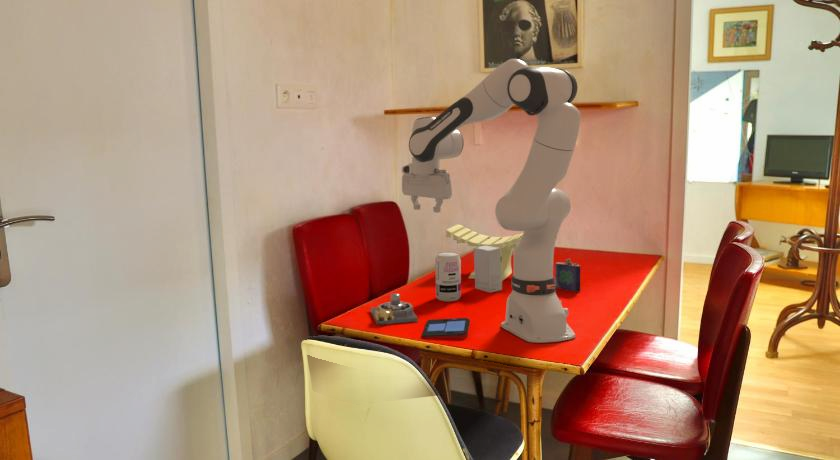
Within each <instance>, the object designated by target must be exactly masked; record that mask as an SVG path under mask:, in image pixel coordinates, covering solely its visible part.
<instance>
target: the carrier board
mask: <svg viewBox="0 0 840 460" xmlns="http://www.w3.org/2000/svg"><path fill="white" fill-rule="evenodd" d="M388 302H389V303H390V302H391V301H388ZM385 303H386V302H384V303H381V304H378V305H377V306H376V307H370V308H369V310H370V314H371V315H372V317H373V320H374V321H375V323H376V325H377V326H385V324H386V325H395V324H396V323H397V324H407V323H417V322H419V318H418V316H417V314H415V312H414V306H413V305H412V304H411V302H406V301H403V303H407V309H404V310H396V311H392V310H391V309H389V310H386V309H384V305H385Z"/></svg>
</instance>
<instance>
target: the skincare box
mask: <svg viewBox="0 0 840 460" xmlns="http://www.w3.org/2000/svg"><path fill="white" fill-rule="evenodd" d="M473 263H474V264H473V265H474V266H473V267H474V271H475V279H474V283H475V285H474V288H475V289H476V290H479V291H483V292H487V293H494V292H499V291H500V292H501V291H502V290H503V281H502V275H501V254H500V248H497V247H491V246H486V245H485V246H480V247H477V246H474V247H473Z"/></svg>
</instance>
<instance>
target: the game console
mask: <svg viewBox="0 0 840 460" xmlns="http://www.w3.org/2000/svg"><path fill="white" fill-rule="evenodd" d="M424 325H425V326H424V328H423V331H422V334H421V336H420V338H421V339H425V340H427V339H428V340H431V339H432V340H435V339H436V340H465V339H467V338H468V335H469V328H470V325H471V320H470V318H467V317H454V318H435V319H433V318H432V319H427V320H426V323H425V324H424Z"/></svg>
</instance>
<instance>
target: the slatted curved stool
mask: <svg viewBox="0 0 840 460" xmlns="http://www.w3.org/2000/svg"><path fill="white" fill-rule="evenodd" d="M445 233H446V234H445V237H446V238H453V239H452V240H453V241H456V244H457V245H458V244H467V247H480V246H485V245H486V246H491V247H497V248H500V254H501V275H502V282H503V281H504V280H506V279H507V278H508V277H509V276H510V275H511V274H512V273H513V270H512V258H513V257H512V256H513V252H514V248H515V246H516V245H517V244H518V242H519V241H520V239H521V237H522V235H523V232H522V233H518V234H515V235H510V236H503V237H502V236H491V235H488V234H487V235H486V234H482V233H479V232H477V231H472V229H470V228H467V227H465V226H464V225H462V224H458V223H457V224H454V225H453V226H451V227H449V228H447V229H445ZM468 279H472V280H473V279H474V280H475V270H473V271H472V272H471V273H470V274H469V276H468Z"/></svg>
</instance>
